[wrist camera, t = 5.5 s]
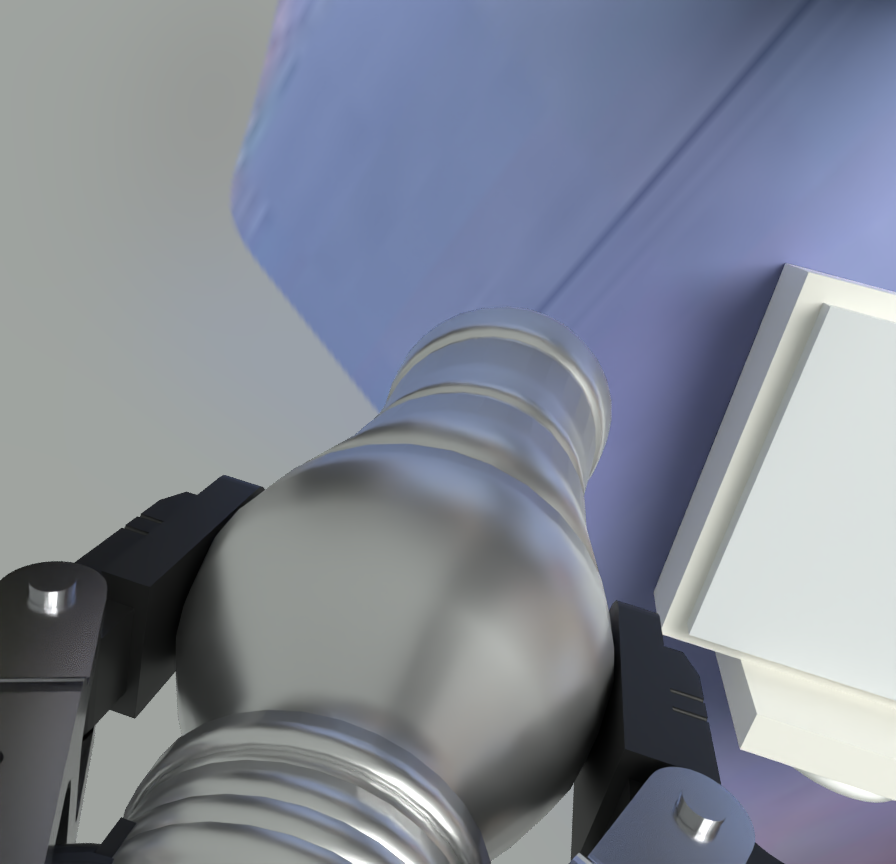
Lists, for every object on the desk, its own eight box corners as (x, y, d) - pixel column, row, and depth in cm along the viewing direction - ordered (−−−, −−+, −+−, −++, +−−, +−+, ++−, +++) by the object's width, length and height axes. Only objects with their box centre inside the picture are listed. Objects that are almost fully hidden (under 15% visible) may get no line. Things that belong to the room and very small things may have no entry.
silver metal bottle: (635, 448, 25) (757, 1294, 6) (449, 502, 26) (103, 1269, 8) (573, 263, 23) (479, 627, 4) (380, 334, 25) (-249, 796, 6)
